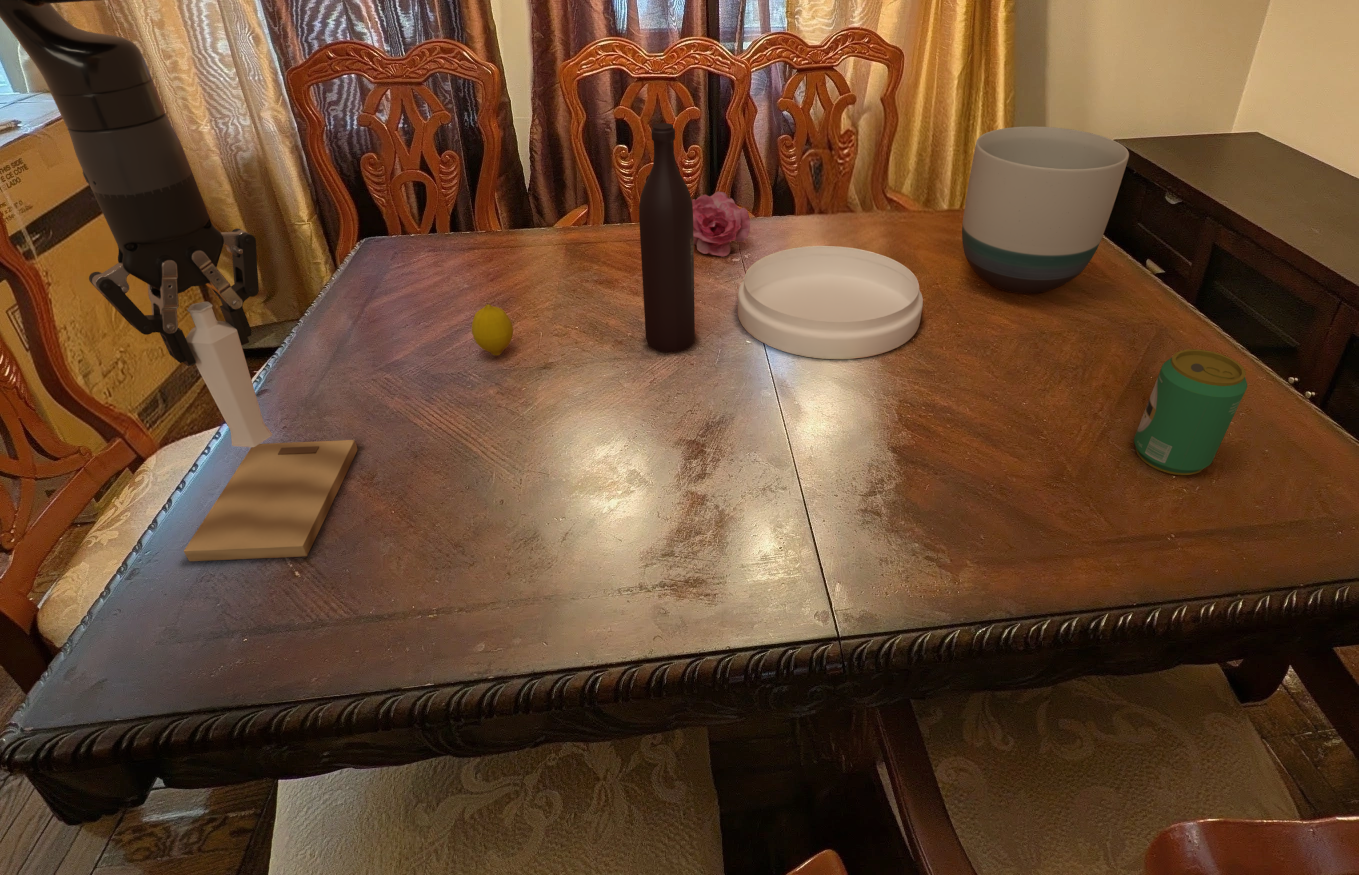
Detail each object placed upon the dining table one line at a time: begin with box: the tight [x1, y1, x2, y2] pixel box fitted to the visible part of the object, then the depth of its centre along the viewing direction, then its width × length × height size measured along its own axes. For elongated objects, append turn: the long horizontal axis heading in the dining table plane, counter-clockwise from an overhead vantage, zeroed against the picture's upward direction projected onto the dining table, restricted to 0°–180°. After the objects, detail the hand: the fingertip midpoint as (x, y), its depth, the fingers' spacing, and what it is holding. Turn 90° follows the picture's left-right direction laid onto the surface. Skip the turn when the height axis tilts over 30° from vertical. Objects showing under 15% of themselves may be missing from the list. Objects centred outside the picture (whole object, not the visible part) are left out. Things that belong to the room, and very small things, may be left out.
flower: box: [691, 190, 751, 258], centre depth 140 cm, size 11×10×10 cm
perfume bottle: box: [185, 300, 273, 448], centre depth 79 cm, size 5×4×15 cm
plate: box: [737, 245, 924, 360], centre depth 119 cm, size 27×27×6 cm
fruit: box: [471, 303, 514, 357], centre depth 111 cm, size 6×6×8 cm
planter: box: [961, 126, 1130, 295], centre depth 121 cm, size 20×20×21 cm
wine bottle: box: [638, 122, 696, 353], centre depth 106 cm, size 7×7×30 cm
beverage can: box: [1133, 348, 1248, 476], centre depth 88 cm, size 8×8×12 cm
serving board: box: [183, 439, 358, 562], centre depth 88 cm, size 18×12×2 cm, turn 2°
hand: (215, 351), depth 77 cm, fingers closed on perfume bottle, 4 cm apart
